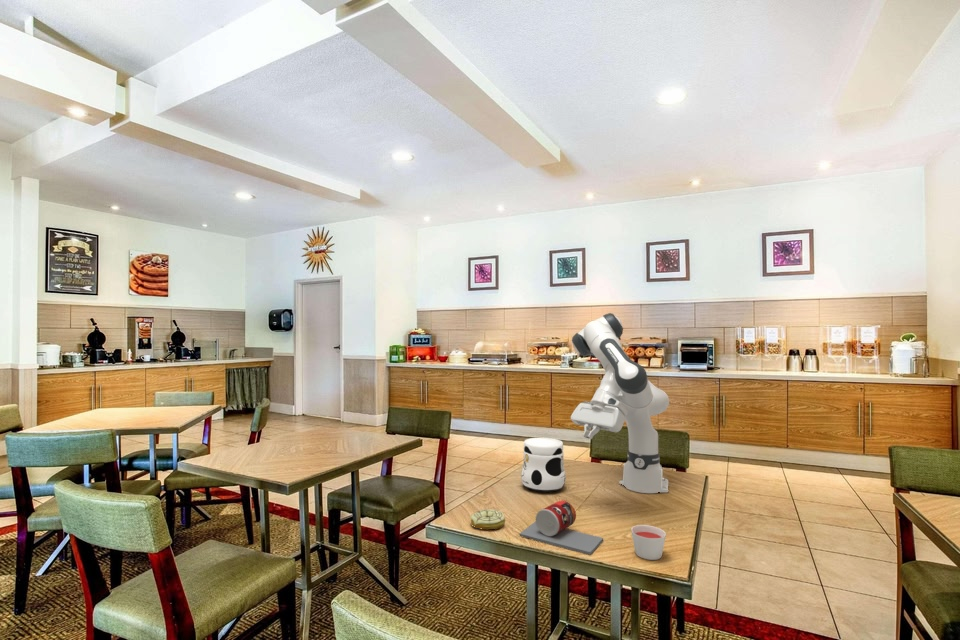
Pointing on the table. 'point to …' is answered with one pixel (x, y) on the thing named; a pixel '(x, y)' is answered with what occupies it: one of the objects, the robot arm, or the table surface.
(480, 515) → the decorated donut
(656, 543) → the candle
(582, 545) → the mat
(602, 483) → the table surface
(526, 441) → the milk container
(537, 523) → the canned food
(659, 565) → the table surface
